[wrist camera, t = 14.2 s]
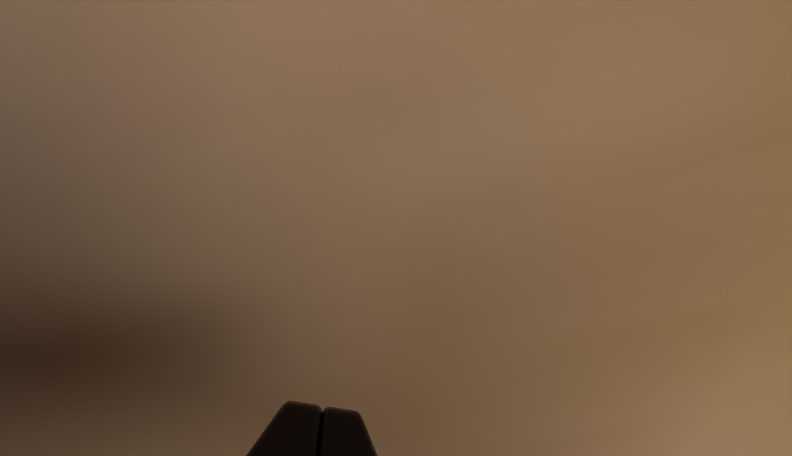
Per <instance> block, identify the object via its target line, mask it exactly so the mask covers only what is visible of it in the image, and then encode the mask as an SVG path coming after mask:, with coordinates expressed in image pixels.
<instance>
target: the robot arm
mask: <svg viewBox="0 0 792 456" xmlns="http://www.w3.org/2000/svg"><path fill="white" fill-rule="evenodd" d="M246 456H377V454H376V451H375V449H374V446H373V444H372V441H371V439H370V436H369V434H368V431H367V429H366V426H365V424H364V421H363V419H362V417H361V415H360V414H359V413H358V412H357V411H354V410H347V409H340V408H334V407H327V408H325V409H324V410H323V411H322V410H321V408H320V407H319V406H318V405H314V404H308V403H301V402H295V401H288V402H286V403H285V404H284V405H283V406H282V407H281V408H280V409H279V411H278V412H277V414H276V415H275V416H274V418H273V419H272V421H271V422H270V423H269V425H268V426H267V428H266V429H265V430H264V432H263V433H262V434H261V436H260V437H259V439H258V440H257V441H256V443H255V444H254V446H253V447H252V448H251V450H250V451H249V453H248V454H247V455H246Z"/></svg>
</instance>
